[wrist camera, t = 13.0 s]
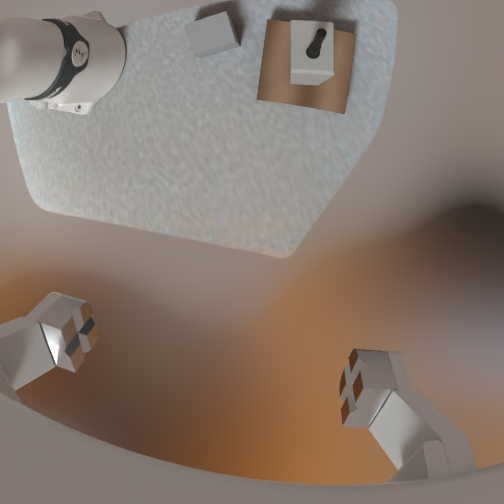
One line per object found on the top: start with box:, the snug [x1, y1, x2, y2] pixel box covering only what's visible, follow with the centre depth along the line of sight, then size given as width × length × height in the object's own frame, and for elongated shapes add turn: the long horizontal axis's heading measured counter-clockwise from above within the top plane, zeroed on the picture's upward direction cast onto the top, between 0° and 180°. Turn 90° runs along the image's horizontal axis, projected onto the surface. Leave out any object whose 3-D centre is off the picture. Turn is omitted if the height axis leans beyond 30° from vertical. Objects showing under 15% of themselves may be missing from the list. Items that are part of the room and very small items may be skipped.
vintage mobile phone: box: [290, 20, 334, 85], centre depth 26 cm, size 4×5×25 cm
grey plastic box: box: [185, 11, 240, 58], centre depth 37 cm, size 6×5×4 cm
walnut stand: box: [257, 19, 356, 114], centre depth 38 cm, size 12×12×3 cm
